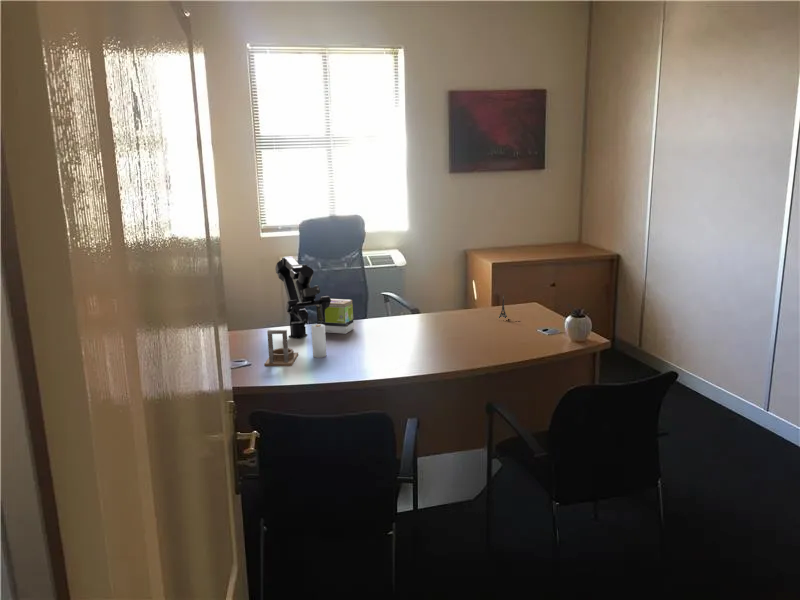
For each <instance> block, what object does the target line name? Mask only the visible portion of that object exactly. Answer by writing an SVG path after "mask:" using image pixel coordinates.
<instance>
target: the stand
mask: <svg viewBox="0 0 800 600" xmlns="http://www.w3.org/2000/svg"><path fill="white" fill-rule="evenodd" d="M266 333H267V343H268V344H267V347H268V358H267V360H266V361H265V362H264V367H286V366H287V367H289V366H290V367H292V366H293V365H294V362H295V361H297V358H298V356H299V352H294V350H293V348H290V347H289V346H288V330H287V329H268V330H267V331H266ZM273 335H282V347H281V348H274V342H273Z"/></svg>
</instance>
